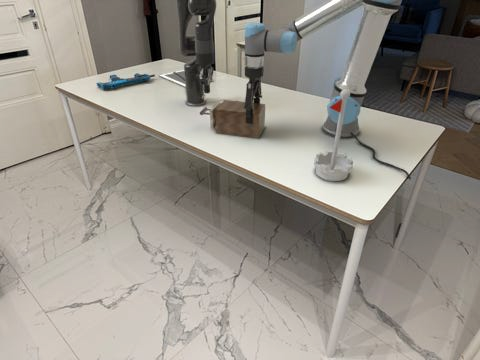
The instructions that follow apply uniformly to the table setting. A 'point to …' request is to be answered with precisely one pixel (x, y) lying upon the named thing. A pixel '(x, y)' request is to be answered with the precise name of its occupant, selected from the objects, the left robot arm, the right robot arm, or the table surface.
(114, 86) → the submachine gun
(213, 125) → the drawer
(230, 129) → the cabinet
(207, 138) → the table surface
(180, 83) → the tablet
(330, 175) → the flag stand
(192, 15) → the left robot arm
